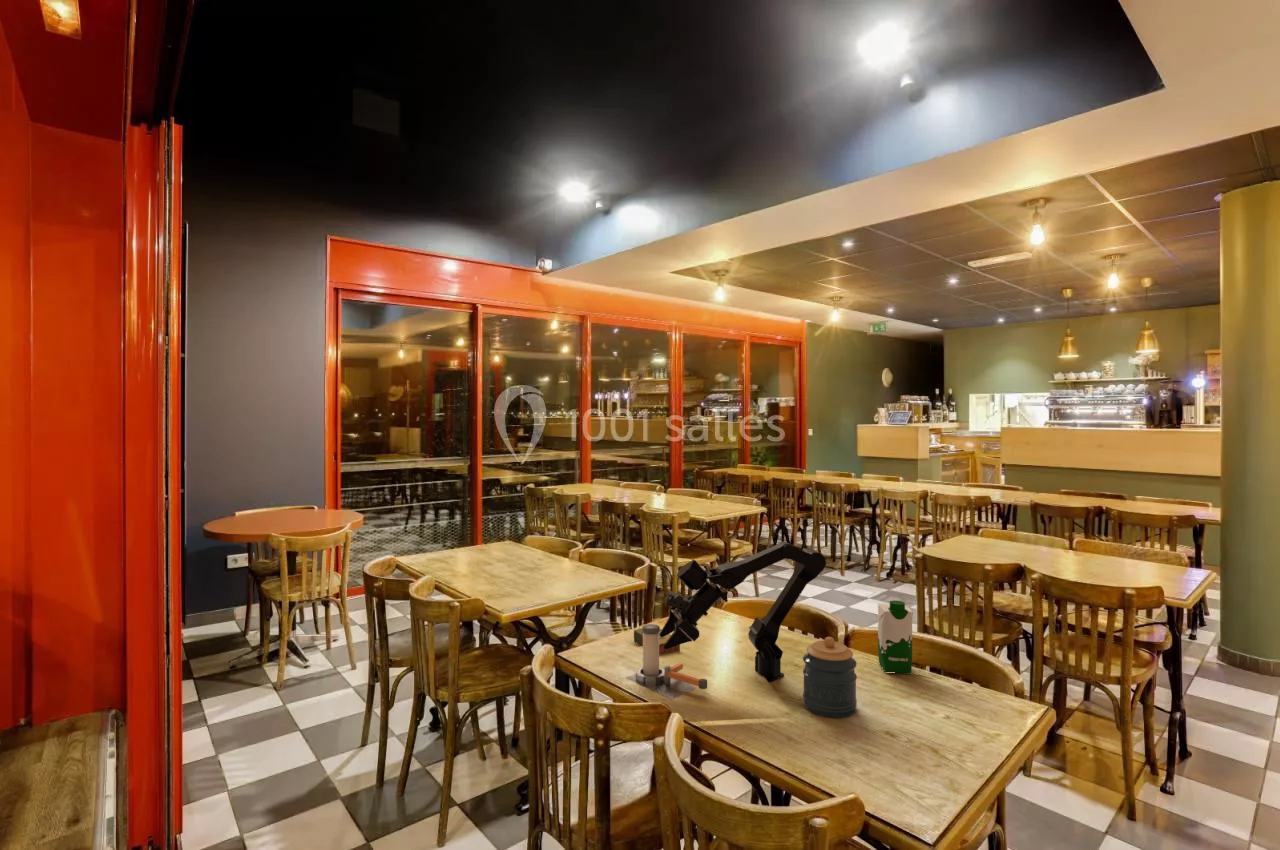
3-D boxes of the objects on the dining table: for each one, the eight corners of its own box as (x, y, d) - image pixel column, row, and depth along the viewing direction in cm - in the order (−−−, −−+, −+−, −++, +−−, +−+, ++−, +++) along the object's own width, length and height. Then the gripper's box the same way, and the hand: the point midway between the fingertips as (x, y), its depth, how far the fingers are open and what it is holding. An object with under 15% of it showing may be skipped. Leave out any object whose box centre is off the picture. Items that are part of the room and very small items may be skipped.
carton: (657, 658, 192) (657, 644, 192) (633, 642, 206) (632, 629, 206) (680, 653, 196) (680, 639, 196) (655, 637, 210) (655, 624, 210)
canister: (820, 722, 151) (820, 648, 150) (793, 698, 163) (793, 631, 163) (867, 715, 154) (867, 643, 154) (837, 692, 167) (837, 626, 166)
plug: (663, 678, 174) (663, 627, 174) (650, 683, 171) (650, 631, 171) (651, 673, 178) (651, 623, 178) (638, 677, 175) (638, 626, 174)
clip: (719, 686, 168) (719, 670, 168) (704, 697, 162) (704, 680, 162) (678, 674, 177) (678, 659, 176) (662, 683, 170) (662, 667, 170)
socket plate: (697, 690, 168) (697, 681, 168) (671, 702, 161) (671, 692, 161) (652, 670, 181) (652, 661, 181) (625, 680, 175) (625, 671, 175)
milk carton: (883, 674, 178) (883, 604, 178) (874, 662, 187) (874, 595, 187) (915, 676, 177) (915, 605, 177) (905, 663, 186) (905, 596, 186)
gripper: (676, 573, 184) (639, 611, 183) (687, 590, 166) (645, 633, 165) (703, 599, 185) (665, 637, 184) (716, 619, 166) (675, 662, 166)
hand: (662, 641), depth 175 cm, fingers open, 9 cm apart
